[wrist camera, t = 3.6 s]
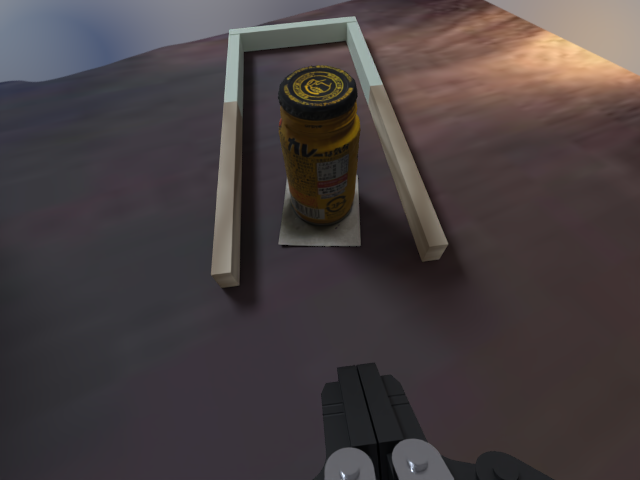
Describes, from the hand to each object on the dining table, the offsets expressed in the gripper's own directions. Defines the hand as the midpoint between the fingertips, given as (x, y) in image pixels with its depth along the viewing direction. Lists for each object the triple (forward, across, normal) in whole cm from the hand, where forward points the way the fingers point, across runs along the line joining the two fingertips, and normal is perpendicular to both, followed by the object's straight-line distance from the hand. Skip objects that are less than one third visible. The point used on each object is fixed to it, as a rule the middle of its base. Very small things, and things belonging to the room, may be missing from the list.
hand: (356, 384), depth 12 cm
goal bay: (+35, 0, -21) cm, 41 cm away
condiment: (+19, 0, -4) cm, 20 cm away
